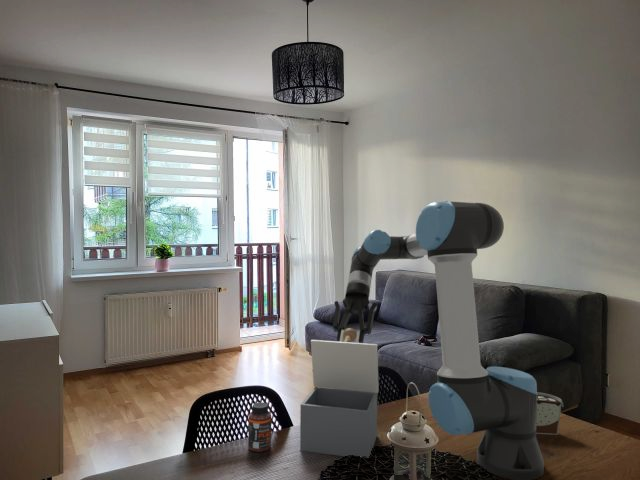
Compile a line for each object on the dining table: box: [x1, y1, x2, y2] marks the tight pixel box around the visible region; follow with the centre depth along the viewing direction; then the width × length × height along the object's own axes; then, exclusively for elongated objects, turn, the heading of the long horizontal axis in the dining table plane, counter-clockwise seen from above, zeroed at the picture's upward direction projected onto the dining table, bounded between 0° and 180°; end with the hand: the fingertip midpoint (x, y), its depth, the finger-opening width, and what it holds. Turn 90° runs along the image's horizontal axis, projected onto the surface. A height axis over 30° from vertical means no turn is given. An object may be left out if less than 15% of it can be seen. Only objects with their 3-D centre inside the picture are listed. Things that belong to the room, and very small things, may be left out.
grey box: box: [299, 387, 378, 457], centre depth 125 cm, size 18×14×12 cm
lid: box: [310, 327, 380, 394], centre depth 135 cm, size 19×15×11 cm
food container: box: [536, 391, 564, 436], centre depth 134 cm, size 12×6×10 cm, turn 84°
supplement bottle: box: [247, 401, 272, 453], centre depth 122 cm, size 6×6×11 cm
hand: (348, 351), depth 134 cm, fingers closed on lid, 4 cm apart
